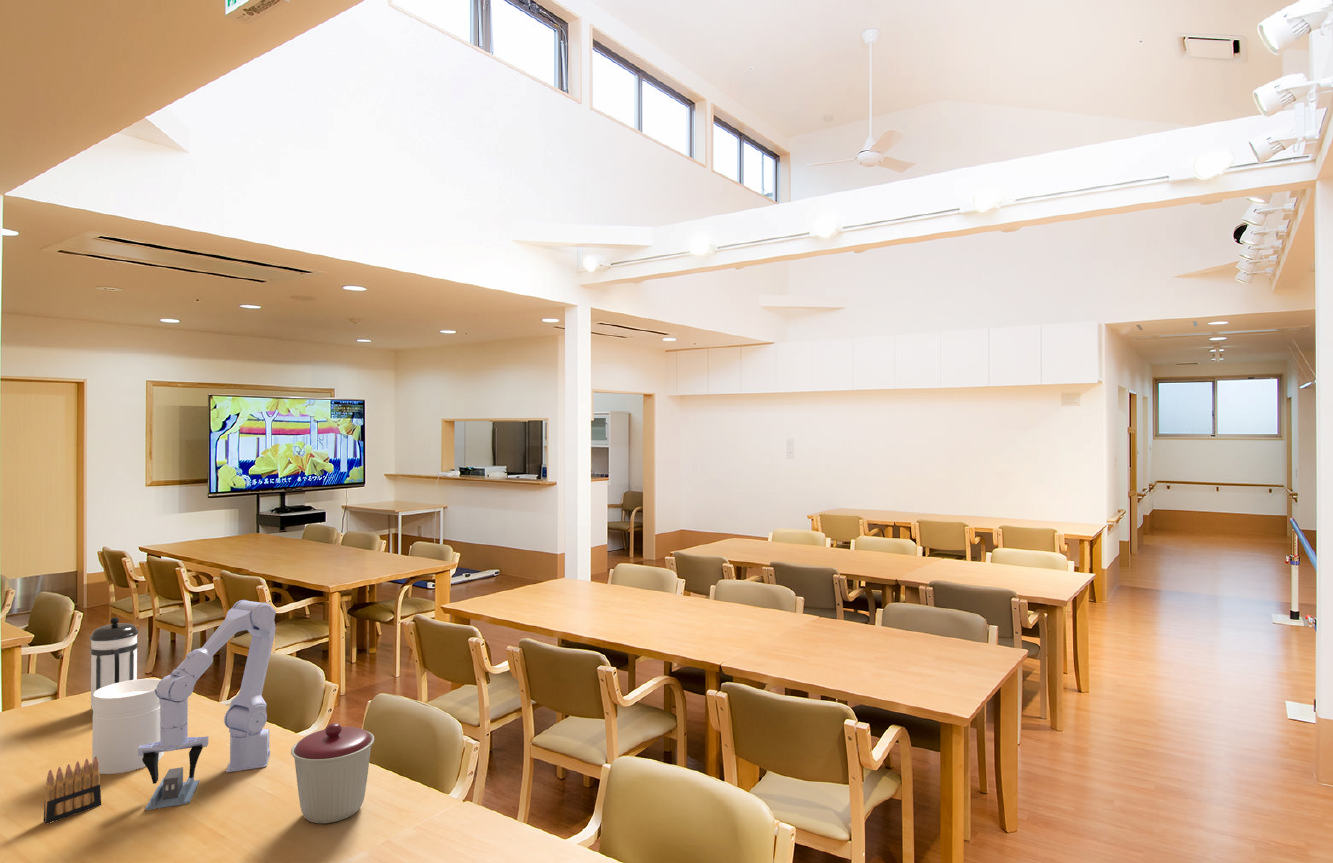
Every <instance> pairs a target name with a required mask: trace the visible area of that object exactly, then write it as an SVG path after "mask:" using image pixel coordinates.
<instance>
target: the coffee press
mask: <svg viewBox="0 0 1333 863" xmlns="http://www.w3.org/2000/svg"><path fill="white" fill-rule="evenodd" d="M109 622H110V623H111V624H106V625H105V624H104V625H102V626H99V627H97V628H95V629H94V630H93V631H92V632H91V635H89V640H90V642H91V643H90V644H91V646H90V651H89V652H90V659H91V660H90V661H91V662H90V706H91V709H92V710H93V693H94V692H95V691H96V690H98V689H100V688H102V687H105V686H108V685H111V684H115V683H119V682H124V681H129V680H136V679H138V678H137V677H138V675H137V674H138V647H139V641H138V635H139V633H140V632H139V629H138V628H137V626H136V625H134V624H133V623H127V622H126V623H125V622H123V623H122V622H120V619H119V618H118V617H112V618H111V620H110V621H109Z"/></svg>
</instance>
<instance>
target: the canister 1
mask: <svg viewBox="0 0 1333 863" xmlns="http://www.w3.org/2000/svg"><path fill="white" fill-rule="evenodd" d="M160 681H161V679H158V678H137V679H136V680H129V681H124V682H119V683H115V684H111V685H108V686H105V687H102V688H100V689H98V690H96V691H95V692H94V693H93V709H92V741H91V742H92V746H91V747H92V749H91V750H92V752H91V754H92V755H91V756H92V758H91V761H92V762H91V763H92V764H91V768H92V767H93V760H94V757H95V756H97V758H98V763H99V772H100V775H113V774H123V773H129V772H134V771H136V769H137V770H140V769H144V768H145V767H146V765H145V764H144V763H143V761H142V759H143V756H138V748H139V747H140V745H146V744H151V743H155V742H159V741H160V700H159V698H158V697H157V696H156V695H155V692H154V690H155V689H156V688H157V685H158V683H159V682H160ZM164 755H165V752H159V757H158V761H160V760H161V759H162V758H163V757H164ZM162 756H163V757H162ZM161 757H162V758H161ZM139 768H140V769H139ZM146 768H147V767H146Z"/></svg>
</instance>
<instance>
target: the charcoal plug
mask: <svg viewBox="0 0 1333 863" xmlns="http://www.w3.org/2000/svg"><path fill="white" fill-rule="evenodd" d="M163 778H164V779H163ZM163 778H162V780H163V800H166V799H172V798H178V796H179V794H180V792H181V790H182V788H183V782H184V766H182V767H175V768H169V769H168V771H167V772H166V774H165V776H164V777H163Z"/></svg>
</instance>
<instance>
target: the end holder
mask: <svg viewBox="0 0 1333 863" xmlns="http://www.w3.org/2000/svg"><path fill="white" fill-rule="evenodd" d="M163 779H164V777H163V778H162V780H161V781H160V783H159V785H158V786H157V787H156V788H155V791H154V793H153V794H152V796H151V797H150V800H149V801H148V802H147V804H146V806H145V808H144V810H146V811H150V810H151V809H152V810H156V808H158V809H165V808H170V807H176V806H181V805H182V804H183V805H188V804H187V803H189V804H190V803H191V800H192V799H193V796H194V795H195V793H194V792H196V791H197V788H198V786H199V784H200V779H196V780H195V775H194V776H193V778H189V776H188V778H187V779H186V781H183V788H182V790H181V792H180V794H179V796H178V798H172V799H166V800H163ZM197 785H198V786H197ZM195 790H196V791H195Z"/></svg>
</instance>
